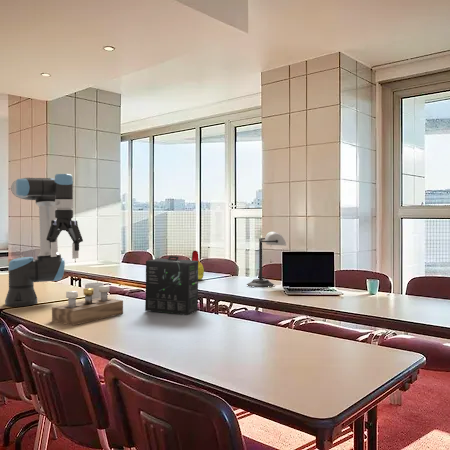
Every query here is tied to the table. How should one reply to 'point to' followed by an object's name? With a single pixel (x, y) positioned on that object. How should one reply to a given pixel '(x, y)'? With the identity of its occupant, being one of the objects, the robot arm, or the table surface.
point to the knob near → (71, 298)
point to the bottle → (200, 266)
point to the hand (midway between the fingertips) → (64, 257)
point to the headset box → (171, 286)
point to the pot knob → (88, 295)
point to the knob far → (104, 293)
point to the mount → (87, 311)
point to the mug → (95, 289)
